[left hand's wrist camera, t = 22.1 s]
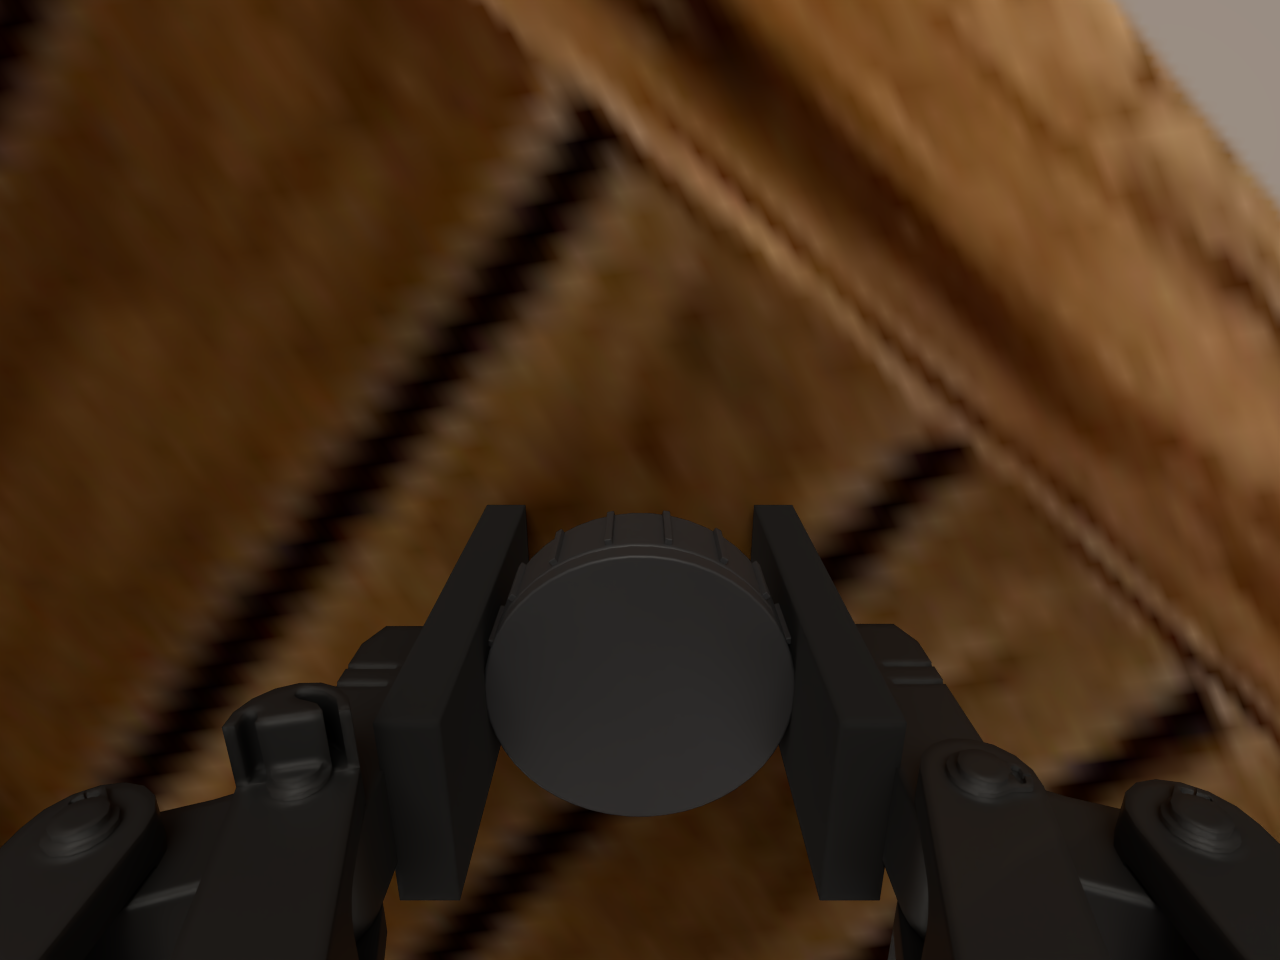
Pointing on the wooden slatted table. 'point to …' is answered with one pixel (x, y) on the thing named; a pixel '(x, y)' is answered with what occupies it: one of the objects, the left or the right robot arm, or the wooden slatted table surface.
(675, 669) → the lid
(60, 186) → the wooden slatted table surface
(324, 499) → the wooden slatted table surface
